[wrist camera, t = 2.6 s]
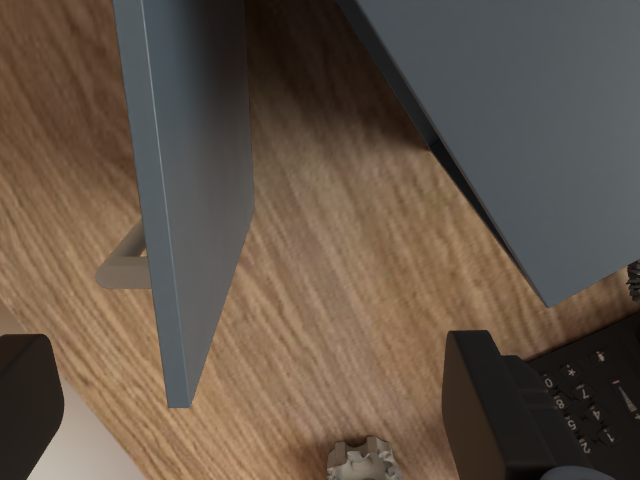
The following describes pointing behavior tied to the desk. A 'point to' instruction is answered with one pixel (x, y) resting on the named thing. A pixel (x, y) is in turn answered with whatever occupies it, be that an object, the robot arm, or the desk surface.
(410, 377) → the desk surface
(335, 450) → the egg carton
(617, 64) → the cupboard
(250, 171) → the cupboard door
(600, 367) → the office phone
